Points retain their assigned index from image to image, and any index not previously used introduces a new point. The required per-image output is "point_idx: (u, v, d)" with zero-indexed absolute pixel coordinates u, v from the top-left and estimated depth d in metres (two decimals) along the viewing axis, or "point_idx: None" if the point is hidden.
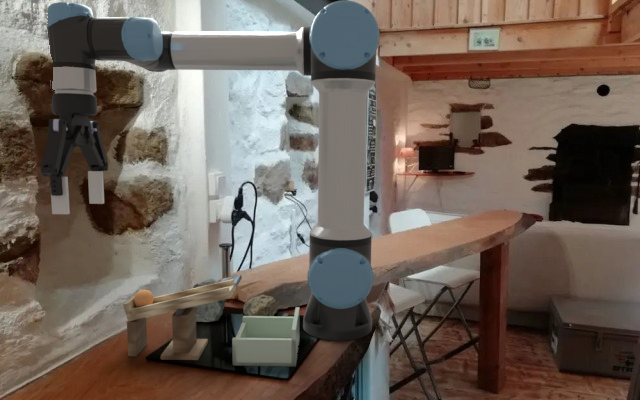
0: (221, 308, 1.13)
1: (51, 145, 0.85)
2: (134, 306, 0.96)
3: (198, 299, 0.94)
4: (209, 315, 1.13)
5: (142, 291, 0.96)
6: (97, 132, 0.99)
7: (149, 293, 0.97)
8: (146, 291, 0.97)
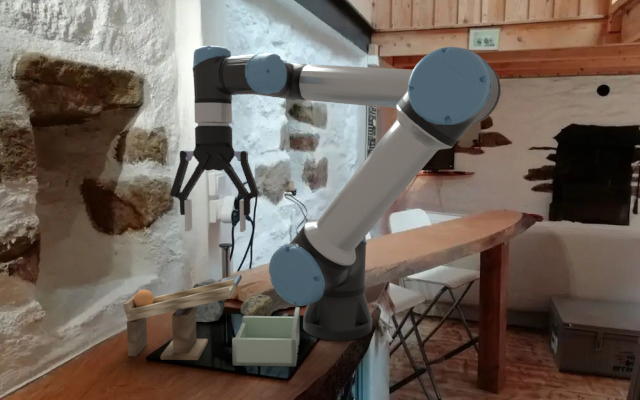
0: (221, 308, 1.13)
1: None
2: (134, 306, 0.96)
3: (198, 299, 0.94)
4: (209, 315, 1.13)
5: (142, 291, 0.96)
6: (241, 161, 1.03)
7: (149, 293, 0.97)
8: (146, 291, 0.97)
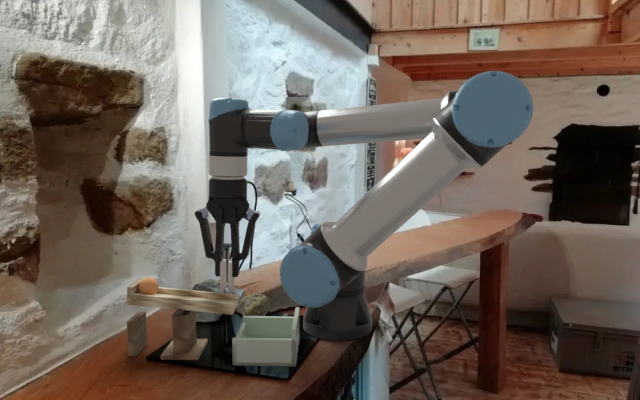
0: None
1: None
2: (136, 291, 0.96)
3: (201, 306, 0.94)
4: (209, 315, 1.13)
5: (150, 280, 0.96)
6: (249, 221, 1.00)
7: (156, 284, 0.97)
8: (154, 281, 0.96)
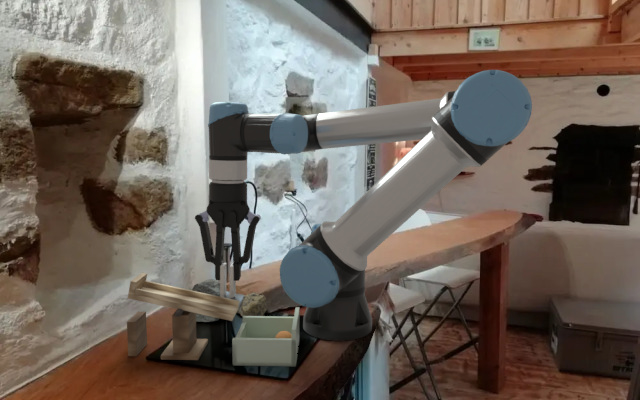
0: None
1: None
2: (138, 285, 0.96)
3: (202, 308, 0.94)
4: None
5: None
6: (250, 224, 1.00)
7: None
8: None
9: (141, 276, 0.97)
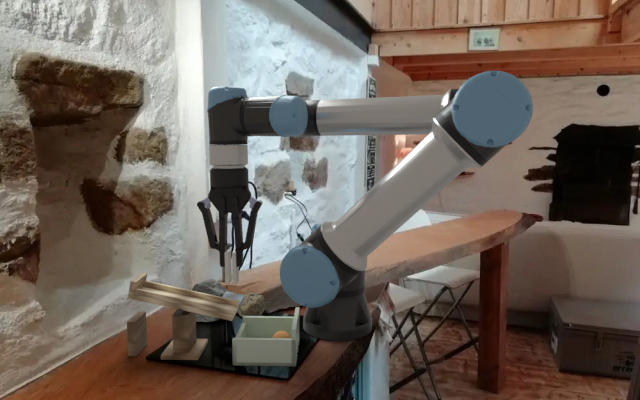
0: None
1: None
2: (138, 285, 0.96)
3: (202, 308, 0.94)
4: None
5: None
6: (252, 209, 1.00)
7: None
8: None
9: (141, 276, 0.97)
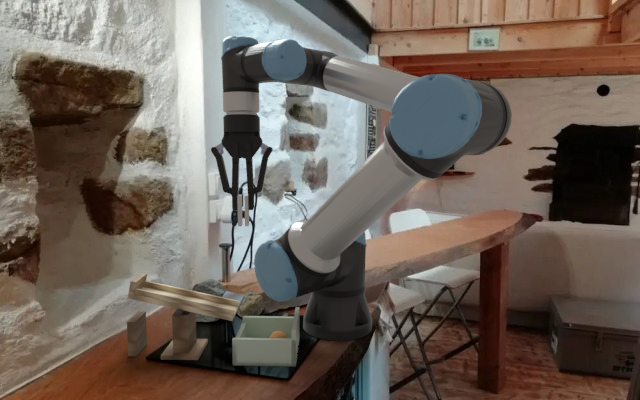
0: None
1: None
2: (138, 285, 0.96)
3: (202, 308, 0.94)
4: None
5: None
6: (264, 154, 1.06)
7: None
8: None
9: (141, 276, 0.97)
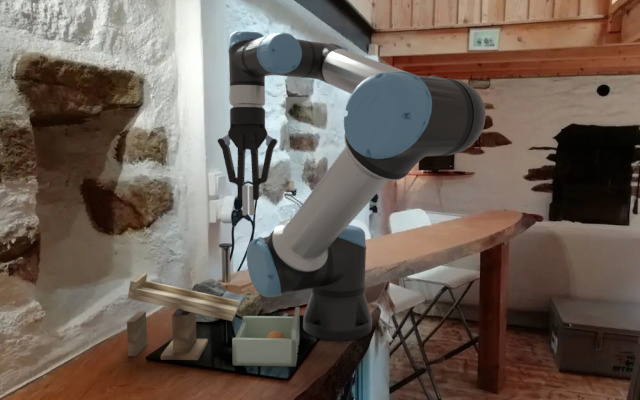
0: None
1: None
2: (138, 285, 0.96)
3: (202, 308, 0.94)
4: None
5: None
6: (268, 146, 1.09)
7: None
8: None
9: (141, 276, 0.97)
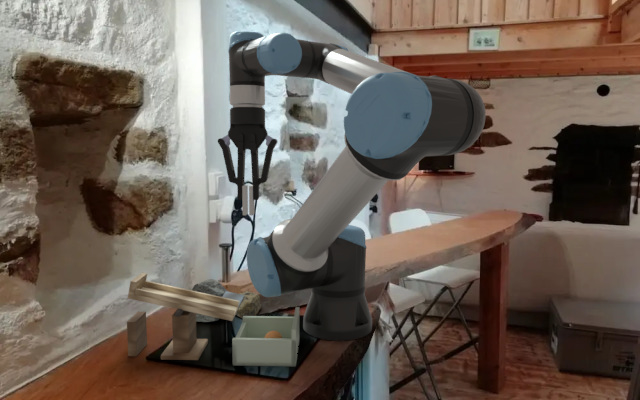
0: None
1: None
2: (138, 285, 0.96)
3: (202, 308, 0.94)
4: None
5: None
6: (268, 146, 1.09)
7: None
8: None
9: (141, 276, 0.97)
